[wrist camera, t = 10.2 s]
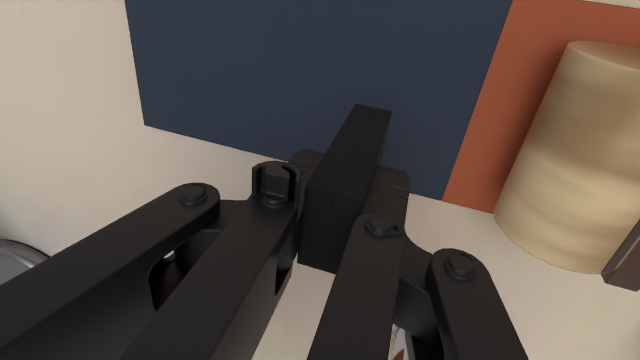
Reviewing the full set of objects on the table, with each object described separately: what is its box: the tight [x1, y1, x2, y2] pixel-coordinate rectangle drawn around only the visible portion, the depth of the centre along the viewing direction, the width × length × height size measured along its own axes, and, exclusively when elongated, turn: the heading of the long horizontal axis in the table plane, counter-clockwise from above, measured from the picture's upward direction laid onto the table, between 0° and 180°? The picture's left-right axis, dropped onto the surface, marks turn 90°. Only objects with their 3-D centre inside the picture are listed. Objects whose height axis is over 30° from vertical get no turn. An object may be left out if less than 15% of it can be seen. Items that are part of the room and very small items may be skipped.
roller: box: [494, 41, 640, 274], centre depth 15 cm, size 6×8×6 cm
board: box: [125, 0, 640, 292], centre depth 18 cm, size 30×11×4 cm, turn 83°
